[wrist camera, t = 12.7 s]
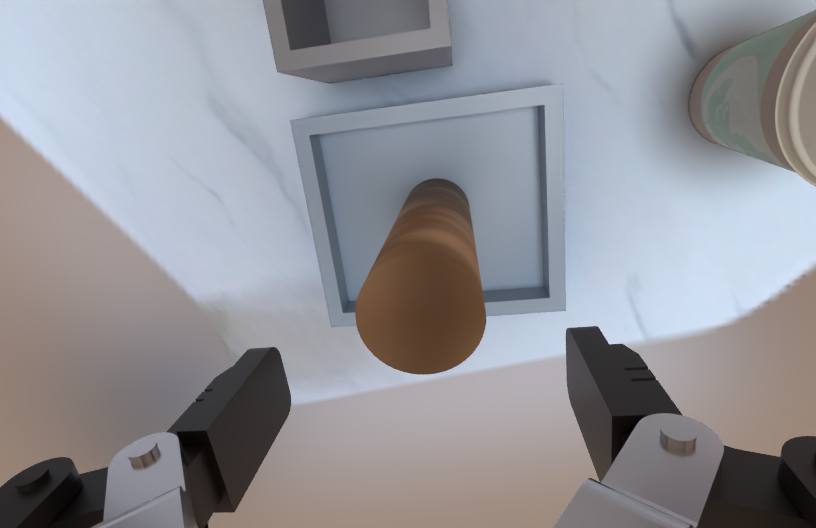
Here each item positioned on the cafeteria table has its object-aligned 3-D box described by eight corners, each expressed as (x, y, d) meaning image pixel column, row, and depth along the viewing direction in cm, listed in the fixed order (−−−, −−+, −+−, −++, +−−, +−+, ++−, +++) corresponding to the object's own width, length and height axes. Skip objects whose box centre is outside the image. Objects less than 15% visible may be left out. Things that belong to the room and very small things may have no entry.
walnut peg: (467, 174, 29) (481, 250, 14) (472, 239, 30) (489, 371, 15) (400, 182, 29) (345, 261, 14) (408, 245, 31) (365, 377, 16)
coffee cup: (657, 43, 26) (809, -7, 15) (818, -5, 25) (1123, -102, 14) (671, 183, 29) (811, 229, 18) (819, 147, 27) (1077, 172, 16)
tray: (551, 86, 28) (562, 83, 25) (556, 293, 32) (565, 310, 29) (305, 119, 30) (290, 120, 27) (341, 309, 34) (331, 326, 31)
